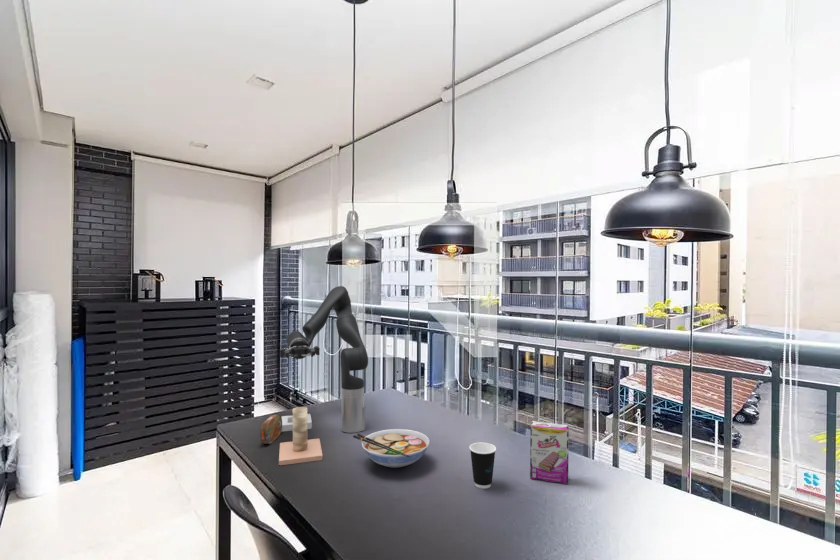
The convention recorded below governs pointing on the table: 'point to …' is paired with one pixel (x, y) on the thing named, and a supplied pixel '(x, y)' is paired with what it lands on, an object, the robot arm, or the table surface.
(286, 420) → the pocket block
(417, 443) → the ramen bowl
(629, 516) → the table surface
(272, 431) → the tin
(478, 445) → the dixie cup
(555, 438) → the candy bar box
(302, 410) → the maple plug
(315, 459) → the terracotta tile
